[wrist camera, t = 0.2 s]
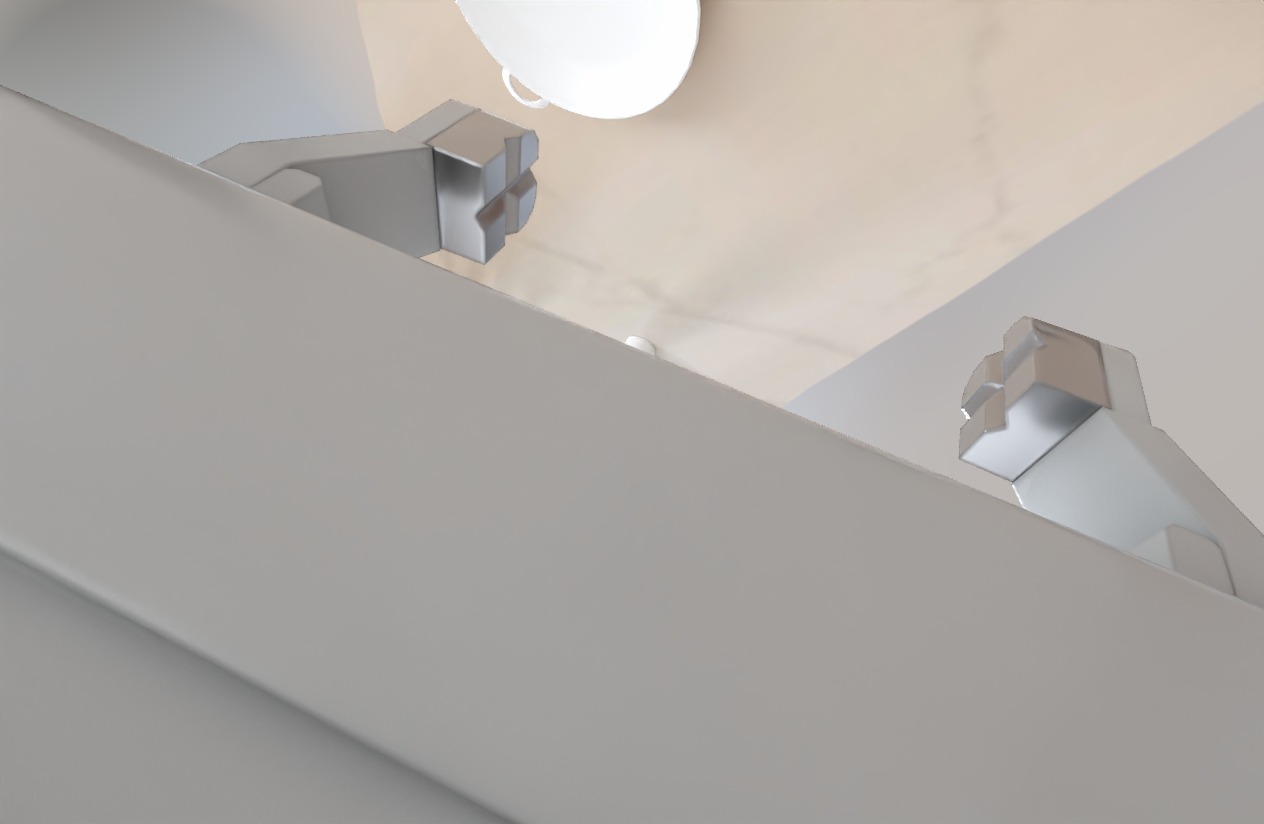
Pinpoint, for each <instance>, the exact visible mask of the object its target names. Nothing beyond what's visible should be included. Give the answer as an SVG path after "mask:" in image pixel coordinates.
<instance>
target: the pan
mask: <svg viewBox="0 0 1264 824" xmlns="http://www.w3.org/2000/svg"><path fill="white" fill-rule="evenodd" d="M455 1H456V3H457V4H458V6H459V8H460V10H461V11H462V13H463V15H464V17H465V18H466V20H467V22H468V24H469V25H470V27H471V28H472V30H473V31H474V33H475V34H476V35H477V37H478V38H479V39H480V41H481V42H482V43H483V45H484V46H485V47H486V49H487V50H488V51H489V52H490V53H491V54H492V56H493V57H494V58H495V59H496V60H497V61H498V62H499V63H500V64H501V65H502V66H503V67H504V69H503V72H502V75H503V78H504V82H505V85H506V86H507V88H508V89H509V91H510V93H511V94H512V95H513V96H514V97H515V98H516V99H517V100H518V101H519V102H521V103H523V104H524V105H526V106H528V107H532V108H537V109H541V108H545V107H547V106H548V105H549V103H550V102H551V103H553V104H555V105H557V106H559V107H561V108H563V109H565V110H567V111H571V112H574V113H577V114H581V115H584V116H587V117H594V118H602V119H619V118H630V117H633V116H636V115H639V114H642V113H645V112H648V111H650V110H651V109H653V108H655V107H656V106H658V105H660V104H661V103H663V102H664V101H665V100H666V99H667V98H668V97H669V96H670V95H671V94H672V93H673V92H674V91H675V90H676V89H677V88H678V87H679V86H680V84H681V82H682V80H683V79H684V77H685V75H686V73H687V72H688V70H689V68H690V66H691V64H692V60H693V57H694V54H695V50H696V47H697V44H698V39H699V28H700V16H701V6H700V0H455ZM511 75H512V76H514V77H515V78H516V79H517V80H518V81H519V82H521V83H522V84H523V85H524V86H525V87H527V88H528V89H530V90H531V91H533V92H534V93H536V94H537V95H539V96H540V97H542V98H541V99H540V100H538V101H531V100H528V99H526V98H524V97H522V96H521V95H520V94H519V93H518V92H517V91H516V90H515V88H514V87H513V85H512V82H511V79H510V77H511Z"/></svg>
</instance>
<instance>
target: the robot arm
mask: <svg viewBox="0 0 1264 824" xmlns="http://www.w3.org/2000/svg"><path fill="white" fill-rule="evenodd" d="M538 150H539V139H538V137H537V135H536V133H535V131H534V130H531V129H529V128H526V127H524V126H521V125H519V124H516V123H514V122H511V121H509V120H506V119H504V118H501V117H499V116H496V115H494V114H491V113H489V112H486V111H483V110H481V109H480V108H477V107H474V106H471V105H468V104H465V103H463V102H460V101H456V100H452V99H450V100H448V101H447V102H445V103H443V104H442V105H440V106H438V107H437V108H435V109H433V110H432V111H430V112H429V113H427V114H425V115H424V116H422V117H420V118H419V119H417V120H415V121H414V122H412V123H410V124H409V125H407V126H406V127H404V128H402V129H401V130H399V131H397V132H396V133H395V132H392V131H389V130H378V131H367V132H356V133H345V134H336V135H324V136H313V137H302V138H291V139H280V140H269V141H258V142H248V143H239V144H237V145H235V146H234V147H232V148H230V149H228V150H226V151H224V152H222V153H220V154H218V155H216V156H214V157H212V158H210V159H208V160H206V161H204V162H202V163H200V164H198V165H196V166H195V165H193V164H190V163H187V162H185V161H183V160H180V159H178V158H175V157H173V156H171V155H168V154H166V153H163V152H161V151H159V150H156V149H154V148H151V147H149V146H147V145H144V144H142V143H139V142H137V141H135V140H132V139H130V138H127V137H125V136H122V135H120V134H118V133H115V132H113V131H111V130H108V129H105V128H103V127H101V126H98V125H96V124H94V123H91V122H89V121H86V120H84V119H81V118H79V117H77V116H74V115H72V114H69V113H67V112H64V111H62V110H59V109H57V108H55V107H53V106H50V105H48V104H45V103H43V102H40V101H38V100H35V99H33V98H31V97H28V96H26V95H23V94H21V93H19V92H16V91H14V90H12V89H9V88H7V87H4V86H2V85H0V824H1264V535H1263V534H1262V533H1261V532H1260V531H1259V530H1258V529H1257V528H1256V527H1255V526H1254V525H1253V524H1252V523H1251V521H1249V519H1248V518H1247V517H1246V516H1245V515H1244V514H1243V513H1242V512H1241V511H1240V510H1239V509H1238V508H1237V507H1236V506H1235V505H1234V504H1233V503H1232V502H1231V501H1230V500H1229V498H1227V496H1226V495H1225V494H1224V493H1223V492H1222V491H1221V490H1220V489H1219V488H1218V487H1217V486H1216V485H1215V484H1214V483H1213V482H1212V481H1211V480H1210V479H1209V478H1208V477H1207V476H1206V474H1205V473H1204V472H1203V471H1202V470H1201V469H1200V468H1199V467H1198V466H1197V465H1196V464H1195V463H1194V462H1193V461H1192V460H1191V459H1190V458H1189V457H1188V456H1187V455H1186V454H1185V453H1184V451H1182V449H1181V448H1179V446H1178V445H1177V444H1176V443H1175V442H1174V441H1173V440H1172V439H1171V438H1170V437H1169V436H1168V435H1167V434H1166V433H1165V432H1164V431H1163V430H1162V429H1159V428H1156V427H1154V426H1152V424H1151V420H1150V416H1149V412H1148V408H1147V404H1146V400H1145V395H1144V391H1143V387H1142V383H1141V379H1140V375H1139V371H1138V366H1137V362H1136V358H1135V356H1134V355H1133V354H1131V353H1130V352H1129V351H1127V350H1124V349H1121V348H1118V347H1115V346H1112V345H1109V344H1105V343H1103V342H1100V341H1098V340H1094V339H1092V338H1089V337H1086V336H1084V335H1080V334H1077V333H1075V332H1072V331H1069V330H1066V329H1063V328H1060V327H1058V326H1055V325H1052V324H1049V323H1046V322H1043V321H1040V320H1038V319H1035V318H1032V317H1026V316H1024V317H1022V318H1021V319H1020V320H1018V321H1017V322H1016V323H1015V324H1014V325H1013V326H1012V327H1011V328H1010V329H1009V330H1008V331H1007V333H1006V334H1005V335H1004V350H1003V351H1000V352H997V353H994V354H991V355H988V356H986V357H985V358H984V359H983V361H982V362H981V363H980V364H979V365H978V367H977V368H976V369H975V370H974V372H973V374H972V375H971V377H970V379H969V381H968V383H967V385H966V387H965V390H964V393H963V397H962V406H961V410H962V411H963V413H964V414H965V416H966V417H967V419H968V421H967V422H966V423H965V424H964V425H963V426H962V428H961V429H960V444H959V459H960V460H962V461H964V462H967V463H969V464H971V465H973V466H976V467H978V468H980V469H983V470H985V471H987V472H989V473H992V474H994V475H996V476H999V477H1001V478H1003V479H1005V480H1008V481H1010V482H1012V484H1011V485H1012V487H1013V489H1014V491H1015V493H1016V495H1017V497H1018V499H1019V501H1020V503H1021V504H1022V506H1023V508H1024V509H1023V508H1021V507H1019V506H1016V505H1014V504H1011V503H1009V502H1007V501H1004V500H1002V499H999V498H997V497H994V496H992V495H990V494H987V493H985V492H982V491H980V490H977V489H975V488H973V487H970V486H968V485H965V484H963V483H961V482H958V481H956V480H953V479H951V478H949V477H946V476H943V475H941V474H939V473H936V472H934V471H932V470H929V469H927V468H924V467H922V466H920V465H917V464H915V463H912V462H910V461H907V460H905V459H903V458H900V457H898V456H895V455H893V454H890V453H888V452H886V451H883V450H881V449H878V448H876V447H873V446H871V445H869V444H866V443H864V442H862V441H859V440H857V439H854V438H852V437H849V436H847V435H845V434H842V433H840V432H837V431H835V430H832V429H830V428H828V427H825V426H823V425H820V424H818V423H816V422H813V421H811V420H808V419H806V418H804V417H801V416H799V415H796V414H794V413H791V412H789V411H786V410H784V409H782V408H779V407H777V406H775V405H772V404H770V403H767V402H765V401H762V400H760V399H758V398H755V397H753V396H750V395H748V394H746V393H743V392H741V391H738V390H736V389H734V388H731V387H729V386H726V385H724V384H721V383H719V382H717V381H714V380H712V379H709V378H707V377H705V376H702V375H700V374H697V373H695V372H692V371H690V370H688V369H685V368H683V367H680V366H678V365H676V364H673V363H671V362H668V361H666V360H663V359H661V358H659V357H656V356H654V355H651V354H649V353H647V352H644V351H642V350H639V349H637V348H634V347H632V346H630V345H627V344H625V343H622V342H620V341H618V340H615V339H613V338H610V337H608V336H606V335H603V334H601V333H598V332H596V331H593V330H591V329H589V328H586V327H584V326H581V325H579V324H577V323H574V322H572V321H569V320H567V319H564V318H562V317H560V316H557V315H555V314H552V313H550V312H548V311H545V310H543V309H540V308H538V307H535V306H533V305H531V304H528V303H526V302H523V301H521V300H519V299H516V298H514V297H511V296H509V295H506V294H504V293H502V292H499V291H497V290H494V289H492V288H490V287H487V286H485V285H482V284H480V283H478V282H475V281H473V280H470V279H468V278H465V277H463V276H461V275H458V274H456V273H453V272H451V271H449V270H446V269H444V268H441V267H439V266H436V265H434V264H432V263H429V262H427V261H424V260H422V259H420V257H423V256H426V255H429V254H432V253H435V252H438V251H440V248H441V249H444V250H446V251H449V252H452V253H454V254H457V255H460V256H462V257H465V258H468V259H470V260H473V261H476V262H478V263H481V264H484V265H485V264H486V263H487V262H488V261H489V260H490V259H491V258H492V257H493V256H494V255H495V254H496V253H497V252H499V251H500V250H501V249H502V248H503V247H504V246H505V235H509V234H513V233H518V232H519V231H520V230H521V229H522V228H523V226H524V225H525V224H526V223H527V221H528V219H529V217H530V215H531V213H532V211H533V208H534V203H535V199H536V191H537V182H536V180H535V178H534V176H533V174H532V172H531V170H530V167H531V166H532V165H533V164H534V163H535V162H536V161H537V160H538Z"/></svg>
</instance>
